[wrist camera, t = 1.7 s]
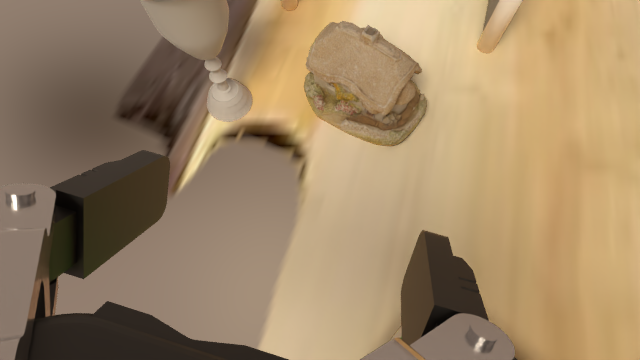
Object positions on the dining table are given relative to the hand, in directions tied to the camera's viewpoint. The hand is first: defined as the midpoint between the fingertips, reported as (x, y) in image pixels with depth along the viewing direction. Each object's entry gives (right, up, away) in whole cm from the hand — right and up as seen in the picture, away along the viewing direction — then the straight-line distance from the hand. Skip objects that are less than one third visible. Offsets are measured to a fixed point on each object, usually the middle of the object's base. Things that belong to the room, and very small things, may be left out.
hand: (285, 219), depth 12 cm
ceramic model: (+6, +11, +33) cm, 35 cm away
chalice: (-9, +10, +32) cm, 35 cm away
